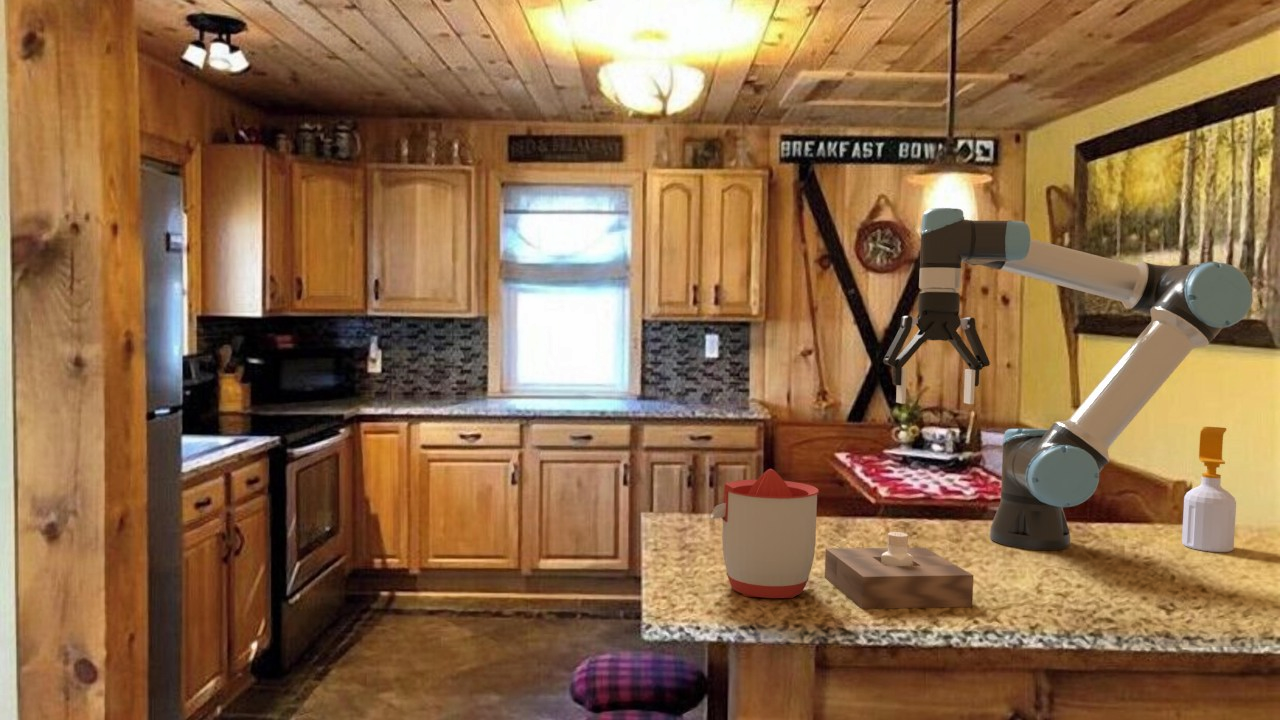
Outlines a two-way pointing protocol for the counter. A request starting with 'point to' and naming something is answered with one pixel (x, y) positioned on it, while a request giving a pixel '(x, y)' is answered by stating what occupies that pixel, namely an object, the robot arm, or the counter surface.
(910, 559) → the pepper shaker
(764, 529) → the citrus juicer
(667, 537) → the counter surface
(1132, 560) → the counter surface
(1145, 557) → the counter surface
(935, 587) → the socket block
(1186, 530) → the soap bottle
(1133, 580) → the counter surface
